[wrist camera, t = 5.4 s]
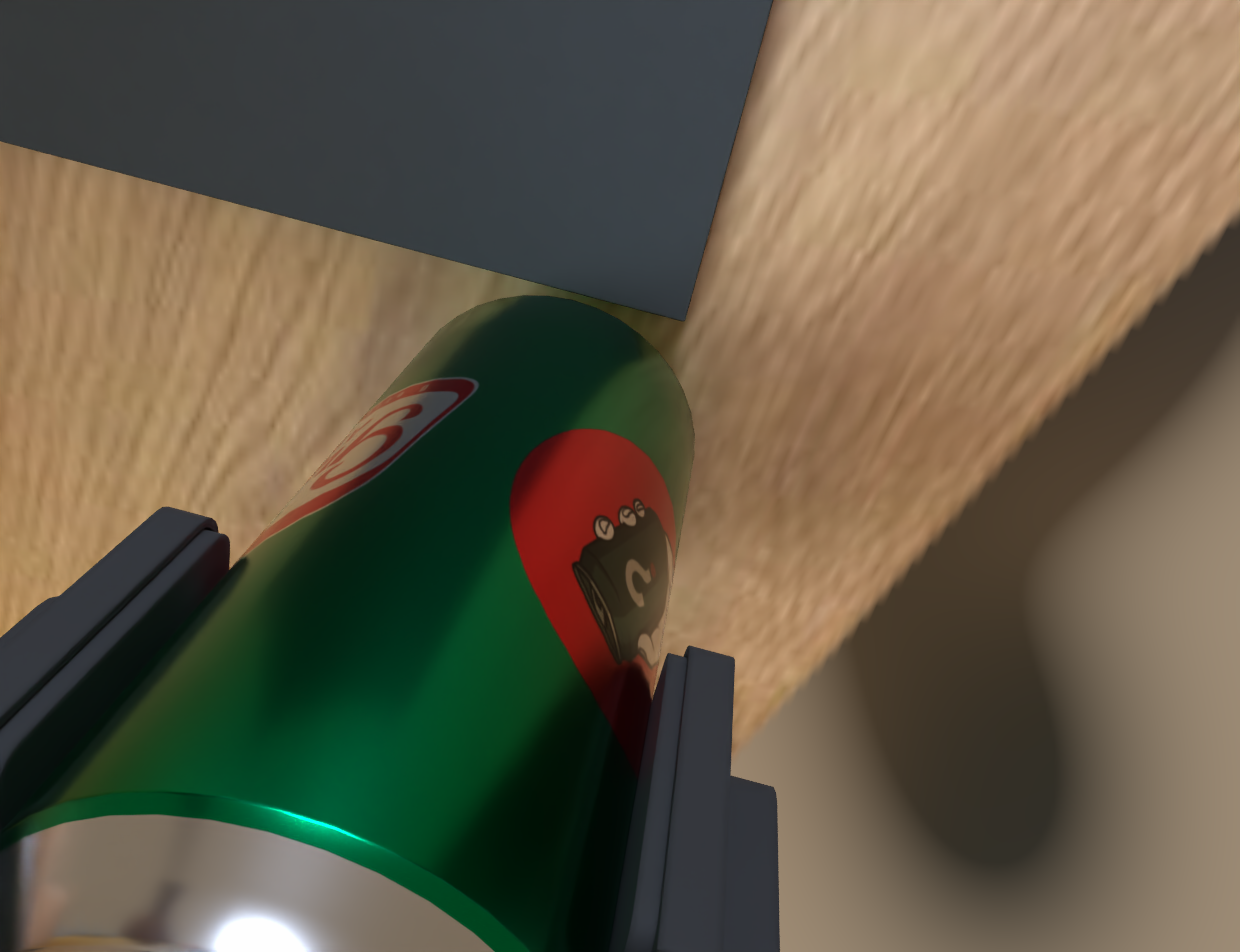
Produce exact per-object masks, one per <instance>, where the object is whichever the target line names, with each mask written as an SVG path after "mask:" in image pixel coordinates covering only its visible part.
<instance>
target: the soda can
mask: <svg viewBox="0 0 1240 952" xmlns="http://www.w3.org/2000/svg"><path fill="white" fill-rule="evenodd" d="M694 446H695V433H694V427H693V421H692V416H691V411H690V408H689V405H688V402H687V399H686V397H685V394H684V391H683V389H682V387H681V385H680V383H679V382H678V380H677V378H676V376H675V374H674V372H673V371H672V369H671V368H670V366H669V365H668V364H667V363H666V361H665V360H664V359H663V357H662V356H661V355H660V353H659V352H658V351H657V350H656V349H655V348H654V347H653V346H652V345H651V344H650V343H649V342H648V341H647V340H646V339H645V338H644V337H643V336H641V335H640V334H639V333H638V332H636V331H635V330H634V329H632V328H631V327H629V326H628V325H627V324H625V323H624V322H622V321H621V320H619V319H618V318H616V317H614V316H612V315H610V314H608V313H606V312H604V311H602V310H600V309H598V308H595V307H592V306H589V305H586V304H583V303H580V302H577V301H574V300H569V299H564V298H558V297H552V296H528V295H523V296H516V297H509V298H502V299H498V300H494V301H491V302H488V303H485V304H482V305H478V306H476V307H474V308H472V309H470V310H468V311H466V312H464V313H462V314H461V315H459V316H457V317H456V318H454V319H453V320H452V321H450V322H449V323H448V324H446V325H445V326H444V327H442V328H441V329H440V330H439V331H438V332H437V333H436V334H435V335H434V336H433V338H432V339H431V340H430V341H429V342H428V343H427V344H426V345H425V346H424V348H423V349H422V350H421V351H420V352H419V353H418V354H417V356H416V357H415V358H414V359H413V360H412V361H411V362H410V364H409V365H408V366H407V367H406V368H405V369H404V370H403V372H402V373H401V374H400V375H399V376H398V377H397V378H396V380H395V381H394V382H393V383H392V384H391V385H390V387H389V388H388V389H387V390H386V391H385V392H384V393H383V395H382V396H381V397H380V398H379V399H378V400H377V401H376V403H375V404H374V405H373V406H372V407H371V408H370V409H369V411H368V412H367V413H366V414H365V415H364V416H363V417H362V419H361V420H360V421H359V422H358V423H357V424H356V425H355V427H354V428H353V429H352V430H351V431H350V432H349V434H348V435H347V436H346V437H345V438H344V439H343V440H342V442H341V443H340V444H339V445H338V446H337V447H336V448H335V450H334V451H333V452H332V453H331V454H330V455H329V456H328V458H327V459H326V460H325V461H324V462H323V463H322V464H321V466H320V467H319V468H318V469H317V470H316V471H315V472H314V474H313V475H312V476H311V477H310V478H309V479H308V480H307V482H306V483H305V484H304V485H303V486H302V487H301V489H300V490H299V491H298V492H297V493H296V494H295V495H294V497H293V498H292V499H291V500H290V501H289V502H288V503H287V505H286V506H285V507H284V508H283V509H282V510H281V511H280V513H279V514H278V515H277V516H276V517H275V518H274V519H273V521H272V522H271V523H270V524H269V525H268V526H267V527H266V529H265V530H264V531H263V532H262V533H261V534H260V535H259V537H258V538H257V539H256V540H255V541H254V542H253V544H252V545H251V546H250V547H249V548H248V549H247V550H246V552H245V553H244V554H243V555H242V556H241V557H240V558H239V560H238V561H237V562H236V563H235V564H234V565H233V566H232V568H231V569H230V570H229V571H228V572H227V573H226V574H225V576H224V577H223V578H222V579H221V580H220V581H219V582H218V584H217V585H216V586H215V587H214V588H213V589H212V590H211V592H210V593H209V594H208V595H207V596H206V597H205V599H204V600H203V601H202V602H201V603H200V604H199V605H198V607H197V608H196V609H195V610H194V611H193V612H192V613H191V615H190V616H189V617H188V618H187V619H186V620H185V621H184V623H183V624H182V625H181V626H180V627H179V628H178V629H177V631H176V632H175V633H174V634H173V635H172V636H171V637H170V639H169V640H168V641H167V642H166V643H165V644H164V645H163V647H162V648H161V649H160V650H159V651H158V652H157V654H156V655H155V656H154V657H153V658H152V659H151V660H150V662H149V663H148V664H147V665H146V666H145V667H144V668H143V670H142V671H141V672H140V673H139V674H138V675H137V676H136V678H135V679H134V680H133V681H132V682H131V683H130V684H129V686H128V687H127V688H126V689H125V690H124V691H123V692H122V694H121V695H120V696H119V697H118V698H117V699H116V700H115V702H114V703H113V704H112V705H111V706H110V707H109V709H108V710H107V711H106V712H105V713H104V714H103V715H102V717H101V718H100V719H99V720H98V721H97V722H96V723H95V725H94V726H93V727H92V728H91V729H90V730H89V731H88V733H87V734H86V735H85V736H84V737H83V738H82V739H81V741H80V742H79V743H78V744H77V745H76V746H75V747H74V749H73V750H72V751H71V752H70V753H69V754H68V755H67V757H66V758H65V759H64V760H63V761H62V762H61V764H60V765H59V766H58V767H57V768H56V769H55V770H54V772H53V773H52V774H51V775H50V776H49V777H48V778H47V780H46V781H45V782H44V783H43V784H42V785H41V786H40V788H39V789H38V790H37V791H36V792H35V793H34V794H33V796H32V797H31V798H30V799H29V800H28V801H27V802H26V804H25V805H24V806H23V807H22V808H21V809H20V810H19V812H18V813H17V814H16V815H15V816H14V817H13V819H12V820H11V821H10V822H9V823H8V824H7V825H6V827H5V828H4V829H3V830H2V831H1V832H0V952H609V946H610V940H611V934H612V929H613V923H614V917H615V911H616V906H617V900H618V894H619V888H620V882H621V877H622V871H623V865H624V859H625V854H626V848H627V842H628V836H629V830H630V825H631V819H632V813H633V807H634V801H635V796H636V790H637V784H638V778H639V773H640V767H641V761H642V755H643V749H644V744H645V738H646V732H647V726H648V721H649V715H650V709H651V703H652V697H653V692H654V686H655V680H656V674H657V668H658V663H659V657H660V651H661V645H662V640H663V634H664V628H665V622H666V616H667V611H668V605H669V599H670V593H671V588H672V582H673V576H674V570H675V564H676V559H677V553H678V547H679V541H680V535H681V530H682V524H683V518H684V512H685V507H686V501H687V495H688V489H689V483H690V478H691V472H692V466H693V460H694Z"/></svg>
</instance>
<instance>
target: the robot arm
mask: <svg viewBox="0 0 1240 952" xmlns="http://www.w3.org/2000/svg"><path fill="white" fill-rule="evenodd" d="M229 559H230V541H229V538H228V536H226V535H224V534H220V533H218V526H217V523H216V521H215V520H213V519H212V518H209V517H205V516H201V515H197V514H194V513H190V512H186V511H182V510H179V509H175V508H171V507H162V508H161V509H159V510H157V511H156V512H155V513H154V514H153V515H151V516H150V517H149V518H148V519H147V520H146V521H145V522H143V523H142V524H141V525H140V526H139V527H138V528H137V529H135V530H134V531H133V532H132V533H131V534H130V535H129V536H127V537H126V538H125V539H124V540H123V541H122V542H121V543H119V544H118V545H117V546H116V547H115V548H114V549H113V550H111V551H110V552H109V553H108V554H107V555H106V556H105V557H103V558H102V559H101V560H100V561H99V562H98V563H97V564H95V565H94V566H93V567H92V568H91V569H90V570H89V571H87V572H86V573H85V574H84V575H83V576H82V577H81V578H79V579H78V580H77V581H76V582H75V583H74V584H73V585H72V586H70V587H69V588H68V589H67V590H66V591H65V592H64V593H62V594H61V595H60V596H57V597H52V598H49V599H47V600H46V601H44V602H43V603H41V604H40V605H38V606H37V607H36V608H34V609H33V610H32V611H31V612H30V613H29V614H27V615H26V616H25V617H24V618H23V619H22V620H20V621H19V622H18V623H17V624H16V625H15V626H13V627H12V628H11V629H10V630H9V631H8V632H7V633H5V634H4V635H3V636H2V637H1V638H0V832H1V831H2V830H3V829H4V828H5V827H6V825H7V824H8V823H9V822H10V821H11V820H12V819H13V817H14V816H15V815H16V814H17V813H18V812H19V810H20V809H21V808H22V807H23V806H24V805H25V804H26V802H27V801H28V800H29V799H30V798H31V797H32V796H33V794H34V793H35V792H36V791H37V790H38V789H39V788H40V786H41V785H42V784H43V783H44V782H45V781H46V780H47V778H48V777H49V776H50V775H51V774H52V773H53V772H54V770H55V769H56V768H57V767H58V766H59V765H60V764H61V762H62V761H63V760H64V759H65V758H66V757H67V755H68V754H69V753H70V752H71V751H72V750H73V749H74V747H75V746H76V745H77V744H78V743H79V742H80V741H81V739H82V738H83V737H84V736H85V735H86V734H87V733H88V731H89V730H90V729H91V728H92V727H93V726H94V725H95V723H96V722H97V721H98V720H99V719H100V718H101V717H102V715H103V714H104V713H105V712H106V711H107V710H108V709H109V707H110V706H111V705H112V704H113V703H114V702H115V700H116V699H117V698H118V697H119V696H120V695H121V694H122V692H123V691H124V690H125V689H126V688H127V687H128V686H129V684H130V683H131V682H132V681H133V680H134V679H135V678H136V676H137V675H138V674H139V673H140V672H141V671H142V670H143V668H144V667H145V666H146V665H147V664H148V663H149V662H150V660H151V659H152V658H153V657H154V656H155V655H156V654H157V652H158V651H159V650H160V649H161V648H162V647H163V645H164V644H165V643H166V642H167V641H168V640H169V639H170V637H171V636H172V635H173V634H174V633H175V632H176V631H177V629H178V628H179V627H180V626H181V625H182V624H183V623H184V621H185V620H186V619H187V618H188V617H189V616H190V615H191V613H192V612H193V611H194V610H195V609H196V608H197V607H198V605H199V604H200V603H201V602H202V601H203V600H204V599H205V597H206V596H207V595H208V594H209V593H210V592H211V590H212V589H213V588H214V587H215V586H216V585H217V584H218V582H219V581H220V580H221V579H222V578H223V577H224V576H225V574H226V573H227V572H228V571H229ZM734 672H735V660H734V658H733V657H730V656H726V655H723V654H719V653H715V652H711V651H708V650H704V649H700V648H696V647H693V646H688V647H687V649H686V652H685V654H684V657H682V656H678V655H674V654H671V653H668V654H667V656H666V659H665V662H664V665H663V668H662V671H661V674H660V678H659V681H658V684H657V687H656V690H655V693H654V696H653V700H652V703H651V709H650V715H649V721H648V726H647V732H646V738H645V744H644V749H643V755H642V761H641V767H640V773H639V778H638V784H637V790H636V796H635V801H634V807H633V813H632V819H631V825H630V830H629V836H628V842H627V848H626V854H625V859H624V865H623V871H622V877H621V882H620V888H619V894H618V900H617V906H616V911H615V917H614V923H613V929H612V934H611V940H610V946H609V952H780V938H779V887H778V885H779V884H778V883H779V881H778V833H777V832H778V831H777V830H778V828H777V827H778V826H777V798H776V792H775V790H774V787H771V786H768V785H764V784H760V783H756V782H753V781H749V780H745V779H741V778H738V777H734V776H730V771H731V746H732V722H733V697H734Z"/></svg>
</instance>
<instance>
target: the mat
mask: <svg viewBox="0 0 1240 952" xmlns="http://www.w3.org/2000/svg"><path fill="white" fill-rule="evenodd" d="M772 3H773V0H0V141H1V142H5V143H9V144H13V145H17V146H20V147H24V148H28V149H32V150H36V151H39V152H43V153H47V154H51V155H54V156H58V157H62V158H66V159H70V160H73V161H77V162H81V163H85V164H89V165H92V166H96V167H100V168H104V169H107V170H111V171H115V172H119V173H123V174H126V175H130V176H134V177H138V178H142V179H145V180H149V181H153V182H157V183H160V184H164V185H168V186H172V187H176V188H179V189H183V190H187V191H191V192H195V193H198V194H202V195H206V196H210V197H213V198H217V199H221V200H225V201H229V202H232V203H236V204H240V205H244V206H248V207H251V208H255V209H259V210H263V211H267V212H270V213H274V214H278V215H282V216H285V217H289V218H293V219H297V220H301V221H304V222H308V223H312V224H316V225H320V226H323V227H327V228H331V229H335V230H338V231H342V232H346V233H350V234H354V235H357V236H361V237H365V238H369V239H373V240H376V241H380V242H384V243H388V244H391V245H395V246H399V247H403V248H407V249H410V250H414V251H418V252H422V253H426V254H429V255H433V256H437V257H441V258H445V259H448V260H452V261H456V262H460V263H463V264H467V265H471V266H475V267H479V268H482V269H486V270H490V271H494V272H498V273H501V274H505V275H509V276H513V277H516V278H520V279H524V280H528V281H532V282H535V283H539V284H543V285H547V286H551V287H554V288H558V289H562V290H566V291H569V292H573V293H577V294H581V295H585V296H588V297H592V298H596V299H600V300H604V301H607V302H611V303H615V304H619V305H622V306H626V307H630V308H634V309H638V310H641V311H645V312H649V313H653V314H657V315H660V316H664V317H668V318H672V319H676V320H679V321H685V319H686V315H687V311H688V308H689V304H690V301H691V297H692V293H693V290H694V286H695V282H696V279H697V275H698V271H699V268H700V264H701V261H702V257H703V253H704V250H705V246H706V242H707V239H708V235H709V232H710V228H711V224H712V221H713V217H714V213H715V210H716V206H717V202H718V199H719V195H720V192H721V188H722V184H723V181H724V177H725V173H726V170H727V166H728V162H729V159H730V155H731V152H732V148H733V144H734V141H735V137H736V133H737V130H738V126H739V123H740V119H741V115H742V112H743V108H744V104H745V101H746V97H747V93H748V90H749V86H750V83H751V79H752V75H753V72H754V68H755V64H756V61H757V57H758V53H759V50H760V46H761V43H762V39H763V35H764V32H765V28H766V24H767V21H768V17H769V14H770V10H771V6H772Z"/></svg>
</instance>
